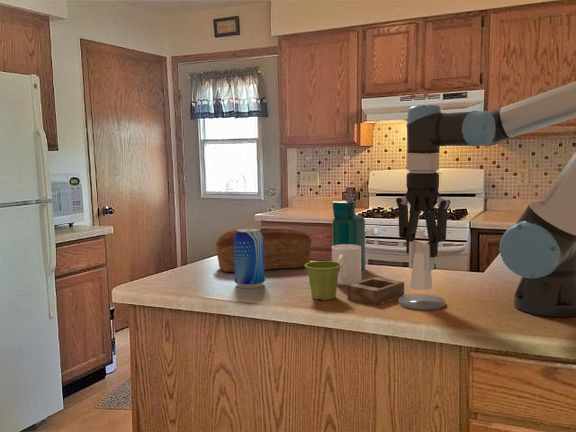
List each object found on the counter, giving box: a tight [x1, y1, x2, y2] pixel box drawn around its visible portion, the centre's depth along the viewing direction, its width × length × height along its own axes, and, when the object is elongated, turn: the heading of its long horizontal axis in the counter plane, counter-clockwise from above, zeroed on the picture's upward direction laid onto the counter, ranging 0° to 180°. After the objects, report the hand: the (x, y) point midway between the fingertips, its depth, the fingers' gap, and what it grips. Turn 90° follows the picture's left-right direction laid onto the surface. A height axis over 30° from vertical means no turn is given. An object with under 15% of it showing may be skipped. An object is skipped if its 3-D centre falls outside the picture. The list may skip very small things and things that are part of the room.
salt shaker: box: [409, 241, 433, 291], centre depth 132 cm, size 5×5×11 cm
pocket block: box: [347, 276, 405, 306], centre depth 140 cm, size 9×12×4 cm
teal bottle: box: [332, 200, 366, 272], centre depth 171 cm, size 10×8×22 cm
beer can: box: [234, 227, 266, 290], centre depth 154 cm, size 8×8×16 cm
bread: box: [215, 225, 312, 273], centre depth 178 cm, size 12×31×14 cm, turn 103°
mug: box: [331, 244, 362, 286], centre depth 155 cm, size 12×8×10 cm
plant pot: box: [304, 260, 342, 301], centre depth 141 cm, size 9×9×9 cm
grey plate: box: [398, 293, 446, 311], centre depth 133 cm, size 11×11×1 cm
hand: (421, 268), depth 133 cm, fingers closed on salt shaker, 4 cm apart
